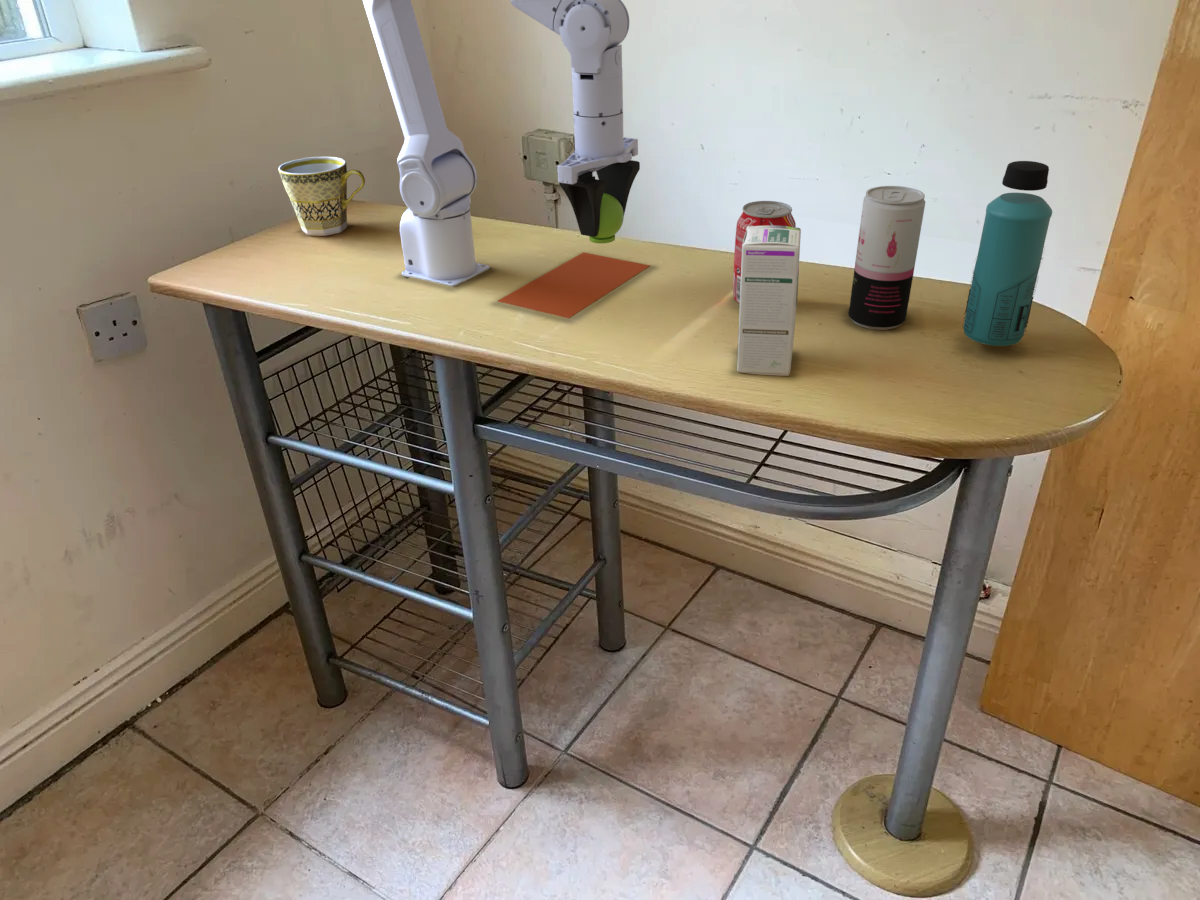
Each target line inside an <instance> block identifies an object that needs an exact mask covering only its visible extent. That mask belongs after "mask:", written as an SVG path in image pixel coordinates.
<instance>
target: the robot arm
mask: <svg viewBox="0 0 1200 900" xmlns="http://www.w3.org/2000/svg"><path fill="white" fill-rule="evenodd" d="M509 1H510V4H511V5H512V7H514V8H515V9H517V10H519V11H521V12H522V13H523V14H525V15H526V16H528V17H529V18H531V19H533V20H535V22H538V23H539V24H541V25H542V26H544V27H546V28H547V29H549V30H550V31H552V32H554V33H555V34H557V35H558V36H559V37H560V40H561V42H562V44H563V46H564V47H565V49H566V50H567V51H568V53H569V57H570V67H571V70H570V71H571V89H572V90H571V91H572V93H571V94H572V111H573V112H572V113H573V114H572V117H573V132H574V133H573V136H574V151H573V152H572V153H571V154H570V155H569V156H568V157H567V158H566V159H565V160H564V161H563V162H561V163H560V164H557V181H558V183H559V184H558V185H559V186H560V188H561V190H563V192H564V193H565V195H566V197H567V199H568V201H569V203H570V205H571V208H572V211H573V213H574V216H575V219H576V223H577V227H578V229H579V232H580V235H581V236H586V237H589V236H591V237H596V236H598V232H599V225H600V208H601V201H602V197H603V193H606V194H609V195H611V196H613V197H615V198H616V199H617V200H618V201H619V203H620V204H621V206H622V209H623V213H624V214H625V212H626V209H627V204H628V200H629V196H630V192H631V189H632V186H633V184H634V181H635V179H636V177H637V175H638V174H639V172H640V169H641V162H640V161H638V160H632V159H633V157H636V156H638V155H639V139H638V138H634V137H626V136H625V137H624V90H623V89H624V88H623V87H624V85H623V83H624V79H623V46H622V45H623V44H622V43H623V42H624V40H625V39H626V37H627V36H628V33H629V31H630V15H629V12H628V9H627V7H626V5H625V4H624V2H623V1H622V0H509ZM362 3H363V6H364V10H365V13H366V16H367V19H368V23H369V26H370V29H371V32H372V36H373V39H374V42H375V45H376V49H377V53H378V56H379V58H380V62H381V65H382V69H383V72H384V75H385V78H386V82H387V85H388V88H389V92H390V94H391V98H392V102H393V104H394V109H395V111H396V114H397V117H398V121H399V124H400V128H401V131H402V135H403V138H404V142H403V144H402V147H401V149H400V152H399V154H398V156H397V160H396V163H397V167H398V170H399V193H400V196H401V199H402V201H403V202H404V205H405V206H406V207H407V208H406V210H405V211H404V212H403V214H402V215H401V219H400V222H399V236H400V242H401V248H402V255H403V262H404V269H405V270H403V271H402V272H401V276H403V277H405V278H414V279H418V280H422V281H426V282H430V283H434V284H439V285H443V286H447V287H452V288H454V287H457V286H459V285H460V284H463V283H464V282H467V281H468V280H470V279H473V278H475V277H476V276H478V275H480V274H482V273H484V272H486V271H487V270H490V268H491V267H490V265H487V264H483V263H478V262H477V261H476V252H475V243H474V234H473V225H472V223H473V222H472V215H471V205H470V204H472V201H471V199H472V198H471V195H472V194H473V193H474V192H475V190H476V189H477V186H478V185H477V184H478V173H477V169H476V167H475V164H474V163H473V161H472V160H471V158H470V157H469V156H468V154H467V153H466V151H465V148H464V144H463V142H462V141H463V140H462V139H461V138H459V136H457V135H456V134H454V133H453V132H452V131H450V129H448V128H447V124H446V120H445V117H444V112H443V109H442V106H441V103H440V99H439V95H438V91H437V88H436V84H435V82H434V81H435V80H434V78H433V73H432V71H431V67H430V64H429V59H428V56H427V53H426V50H425V49H426V48H425V45H424V43H423V39H422V35H421V31H420V29H419V24H418V20H417V17H416V14H415V11H414V6H413V3H412V0H362ZM595 172H596V175H597V178H598V179H596V176H595V175H594V173H595Z"/></svg>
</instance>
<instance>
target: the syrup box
mask: <svg viewBox="0 0 1200 900" xmlns="http://www.w3.org/2000/svg"><path fill="white" fill-rule="evenodd" d="M801 235H802V229H801V228H800V227H789V226H775V225H772V226H769V225H767V226H747V229H746V233H745V236H744V239H743V244H742V264H741V285H740V304H739V310H738V335H737V357H736V359H737V360H736V371H737V372H738V373H743V374H749V375H762V376H779V377H781V376H782V377H785V376H786V377H789V376H790V373H791V368H792V363H793V351H794V339H795V329H796V328H795V327H796V317H797V307H798V306H797V305H798V293H799V292H798V291H799V276H800V275H799V274H800V252H801Z"/></svg>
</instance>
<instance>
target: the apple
mask: <svg viewBox="0 0 1200 900" xmlns="http://www.w3.org/2000/svg"><path fill="white" fill-rule="evenodd" d="M624 218H625V213H623V209H622V206H621V204H620V203H619V201H618V200H617V199H616V198H615V197H613V196H611V195H609V194H606V193H603V197H602V201H601V208H600V225H599V232H598V236H596V237H591V236H588V240H589V241H590V242H591V243H593V244H609V243H612V242H615V240H616V234H617V233H619V231H620V229H621V228H622V225H623V223H624Z"/></svg>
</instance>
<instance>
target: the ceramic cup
mask: <svg viewBox="0 0 1200 900" xmlns="http://www.w3.org/2000/svg"><path fill="white" fill-rule="evenodd" d="M347 167H348V166H347V161H346V160H345V159H343V158H341V157H336V156H309V157H301V158H297V159H293V160H289V161H287V162H284V163H282V164H280V165H279V167H278V169H277V170H278V173H279V176H280V179H281V182H282V184H283V187H284V190H285V192H286V194H287V196H288V198H289V200H290V203H291V205H292V208H293V210H294V213H295V215H296V218H297V221H298V223H299V226H300V228H301V231H302V232H303V233H305V234H306V235H308V236H313V237H314V236H315V237H327V236H330V235H336V234H340V233H342V232H343V231H344V230H346V229H347V228H348V214H347V213H348V212H347V211H348V204H349V203H350V201H352V200H353V198H354V197H355V196H356V194H357V193H359V192H360V191H361V190H362V189H363V188H364V187H365V184H366V179H365V176H364V174H363V173H362V172H361V170H358V169H350V170H348V168H347ZM352 175H358V176H359V177H360V178H361V184H360V185H359V187H357V188H356V189H355V190H354V191H353V192H352V193H351V195H350V196H349V197H348V195H347V194H348V188H347V187H348V179H349V177H350V176H352Z"/></svg>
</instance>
